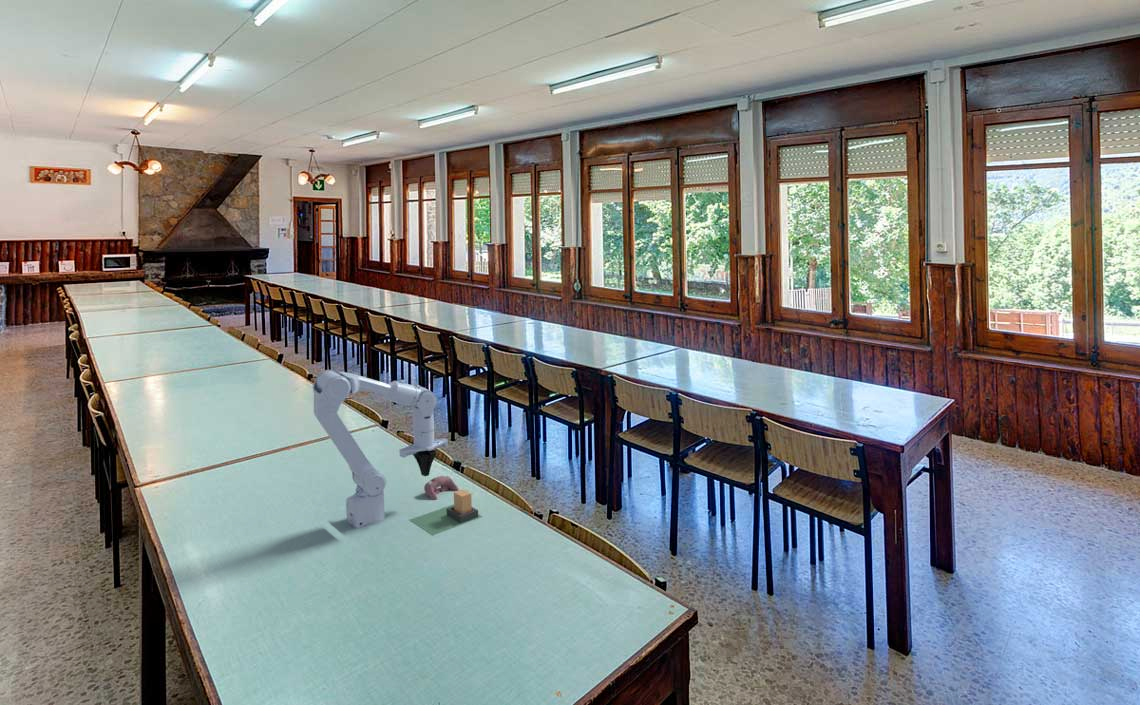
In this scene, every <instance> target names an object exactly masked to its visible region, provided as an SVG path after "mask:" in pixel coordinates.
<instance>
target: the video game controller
mask: <svg viewBox="0 0 1140 705" xmlns="http://www.w3.org/2000/svg"><path fill="white" fill-rule="evenodd" d="M439 487H440V489H438V488H439ZM423 488H424V492H425V494H427V496H428V498H429V499H431V500H433V501H436V500H438V497H437V496H438V495H439V494H441V493H444V492H446V491H448V490H452V491H454V492H456V491H459V490H460V489H459V487H458V485H457V484H456V483H455V481H454V480H453V478H451V477H450V476H449V475H440V476H436V477H434V478H432V479H430V480H429V481H428V482H426V483H425V484H424V487H423Z"/></svg>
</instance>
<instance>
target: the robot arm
mask: <svg viewBox="0 0 1140 705" xmlns="http://www.w3.org/2000/svg"><path fill="white" fill-rule="evenodd" d="M312 391H313V414H314V416H315V418H316V419H317V421H318V422H319V424H320V426H322V428H323V430H324V431H325V432H326V434H327V435H328V437H329V438H330V440H331V442H332V443H333V444H334V446H335V447H336V449H337V450H338V452H339V453H340V455H341V456H342V458H343V459H344V460H345V462H346V463H347V464H348V468H349V470H350V471H351V475H352V480H353V482H354V483H355V484H356V488H355V493H354V494H353V495H351V496H348V497H347V498H346V500H345V507H346V521H347V522H348V523H349V524H351V525H352V526H353V527H354V528H355V529H359V528H362V527H365V526H369V525H374V524H377V523H379V522H382V521H383V520H384V519H385V516H386V515H385V497H384V495H385V494H384V490H385V488H386V485H387V479H386V477H385V475H384V474H383V473H381V472H379V471H378V470H377V469H376V468H375V467H374V466H373V465H372V463H371V461H370V460H369V459H368V458H367V457H366V454H365V453H364V452H363V451H362V449H361V447H360V446H359V444H358V442H356V440H355V439H354V436H352V434H351V432H350V431H349V429H348V428H347V426H346V424H345V423H344V422H343V420H342V419H341V417H340V416H339V414H338V411H339V409H340V406H342V404H343V402H344V401H345V400H346V398H347V397H348V396H349V394H350V395H355V394H357V393H358V392H359V391H362V392H368V393H372V394H377V395H381V396H385V397H386V398H387V401H389V402H391V403H395V404H399V405H404V406H408V407H412V426H413V427H412V428H413V429H412V430H413V431H412V432H413V443H412V444H410V445H407V446H406V447H403V448H399V451H398V452H399V457H401V458H403V459H404V458H407V457H408V456H411V455H412V456H413V457H414V458H415V460H416V463H417V464H418V467H419V471H420V475H421V476H423V477H429V476H430V472H431V467H432V466H433V465H432V464H433V463H434V460H435V458H436V456H437V451H436V450H435V449H437V448H442V447H448V446H449V440H448V439H447V438H444V437H443V438H439V439H438V438H437V439H435V417H434V415H435V414H434V409H435V407H436V405H437V402H438V399H437V397H436V394H435V393H434V392H433V391H431V390H430V389H427V388H425V387H424V386H421V385H419V384H415V385H414V384H413V385H412V384H408V383H406V381H405V380H404V379H403V380H402V379H399V380H398V381H397V380H392V381H391V382H389V383H386V382H383V381H379V380H376V379H373V378H369V377H365V376H362V375H360V374H356V373H352V372H351V373H350V372H346V371H338V372H336V371H335V370H334V369H326V370H322V371H321V372H319V374H317V376H316V378H315V380H314V382H313V385H312Z"/></svg>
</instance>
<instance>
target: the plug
mask: <svg viewBox="0 0 1140 705" xmlns="http://www.w3.org/2000/svg"><path fill="white" fill-rule="evenodd" d="M453 504H454V511H456V512H457V513H459V514H461V515H462V514H465V513H468V512H470V511H472V507H473V506H472V493H471V492H469V491H468V490H466V489H464V488H462V489H459V491H454V492H453Z"/></svg>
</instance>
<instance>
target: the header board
mask: <svg viewBox="0 0 1140 705" xmlns="http://www.w3.org/2000/svg"><path fill="white" fill-rule="evenodd" d="M480 518H483V516H482V515H481V514H479V510H478V509H476V508H475V507H473V506H472V511H470V512H468V513H465V514H462V515H461V514H459V513H457V512H456V511H454V503H453V504H450V505H448V506H445V507H442V508H439V509H435V510H434V511H431V512H427V513H424V514H422V515H419V516H416V517H413V518H409V521H410V522H411V523H413V524H414V525H416V526H417V527H419V528H420V529H421V530H424V531H425V532H426V533H427V534H430V535H431V536H434V535H437V534H440V533H443V532H446V531H449V530H451V529H453V528H456V527H459V526H462V525H465V524H466V523H470V522H472V521H474V520H475V521H476V520H478V519H480Z"/></svg>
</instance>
